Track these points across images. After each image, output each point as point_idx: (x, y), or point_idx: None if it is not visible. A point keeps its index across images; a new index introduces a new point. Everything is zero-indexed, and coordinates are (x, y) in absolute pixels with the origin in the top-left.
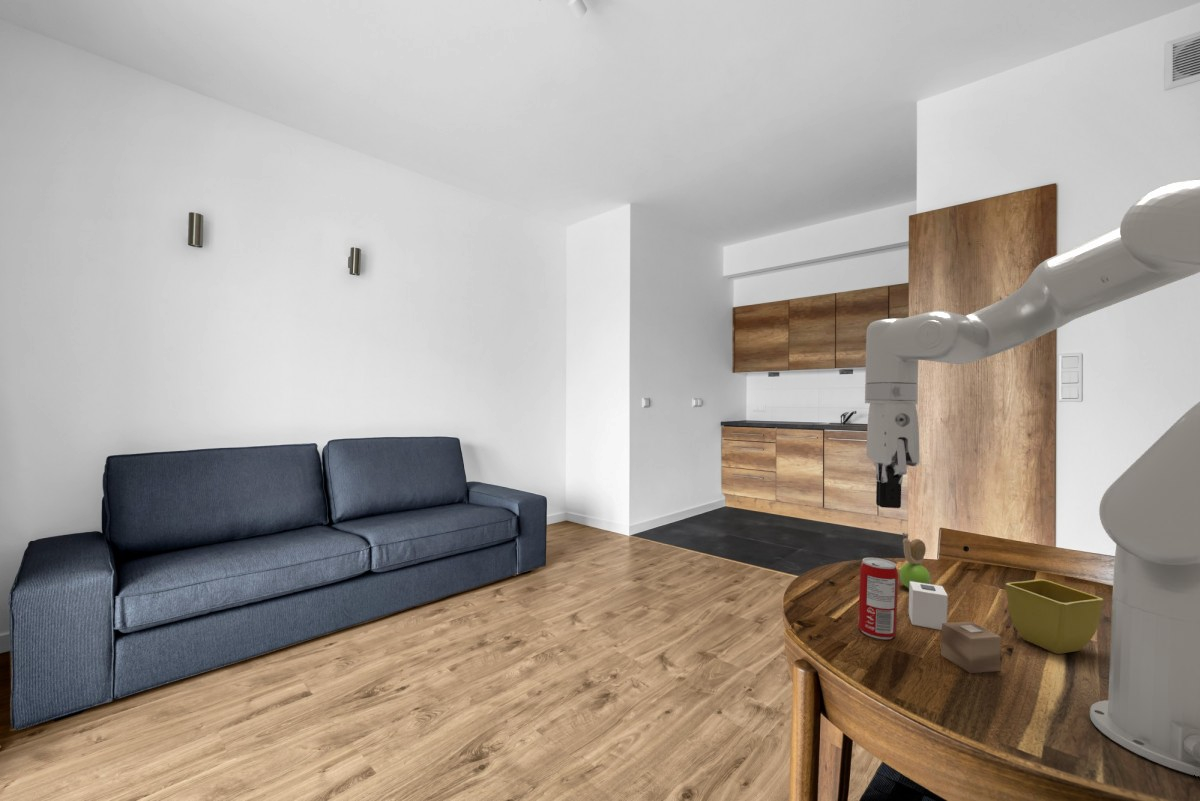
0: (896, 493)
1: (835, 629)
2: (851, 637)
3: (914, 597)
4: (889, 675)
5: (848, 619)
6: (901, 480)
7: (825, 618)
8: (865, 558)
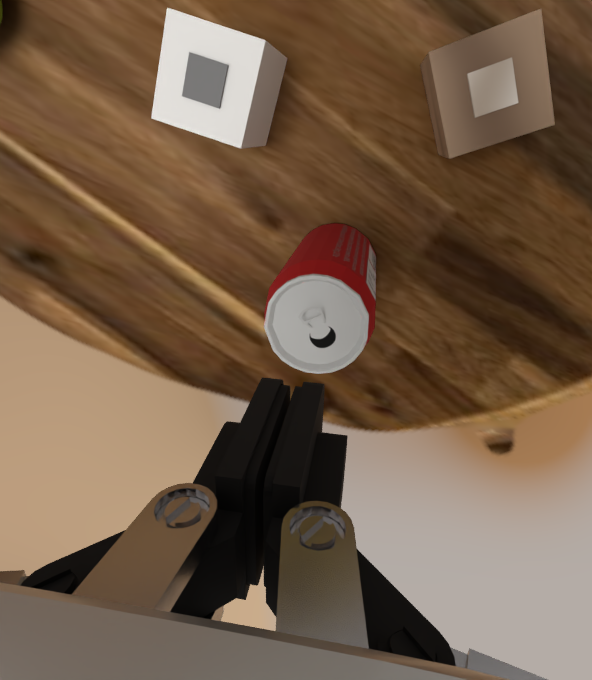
0: (342, 477)
1: None
2: None
3: (247, 143)
4: (538, 319)
5: None
6: (353, 540)
7: None
8: (280, 354)
